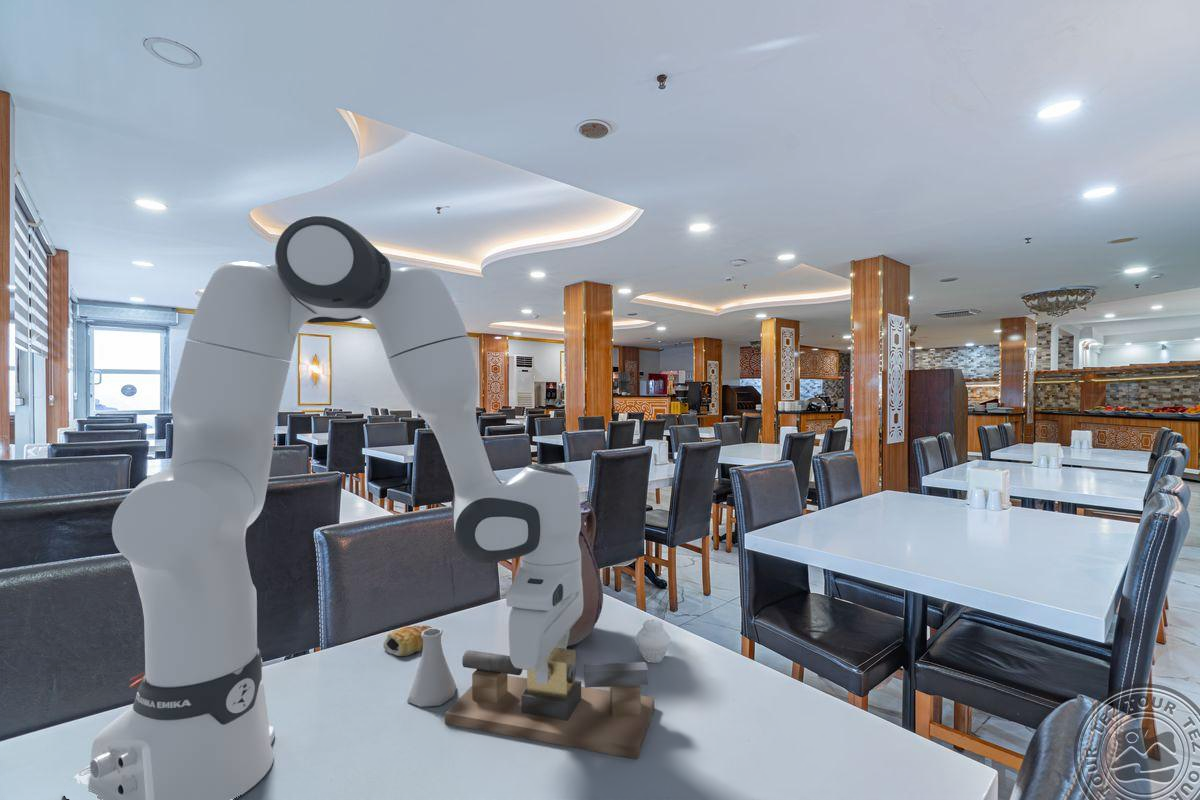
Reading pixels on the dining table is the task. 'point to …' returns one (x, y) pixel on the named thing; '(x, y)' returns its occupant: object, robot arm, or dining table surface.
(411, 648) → the pastry
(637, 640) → the white rounded piece
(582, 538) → the ceramic pitcher
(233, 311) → the robot arm
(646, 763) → the dining table surface
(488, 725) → the shaft stand
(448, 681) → the flask
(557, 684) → the tan rectangular block
